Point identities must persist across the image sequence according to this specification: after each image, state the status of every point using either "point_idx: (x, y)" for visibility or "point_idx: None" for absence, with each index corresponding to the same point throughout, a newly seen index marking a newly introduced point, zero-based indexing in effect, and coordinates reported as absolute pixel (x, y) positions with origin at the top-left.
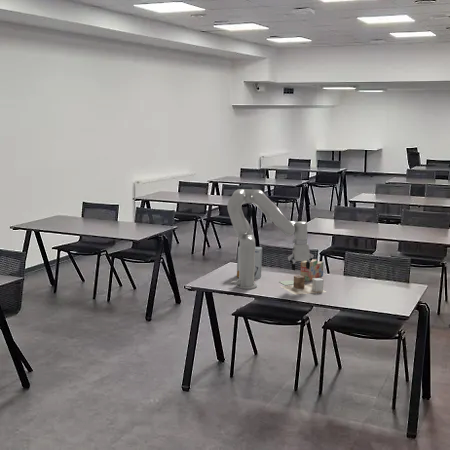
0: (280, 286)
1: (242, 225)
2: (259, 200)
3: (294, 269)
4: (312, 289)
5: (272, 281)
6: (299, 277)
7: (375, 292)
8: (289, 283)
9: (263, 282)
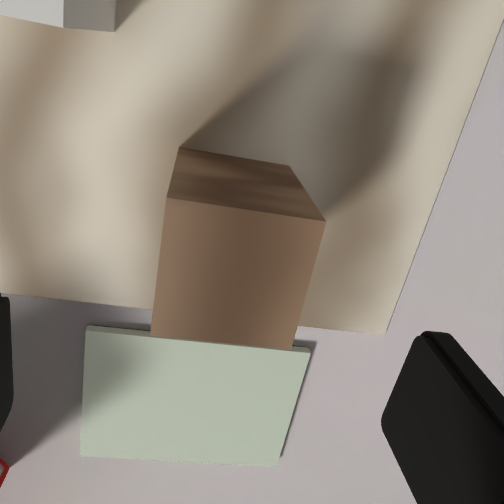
0: (381, 332)
1: None
2: None
3: (454, 345)
4: (114, 8)
5: (309, 494)
6: (276, 226)
7: None
8: (226, 380)
9: (401, 490)
